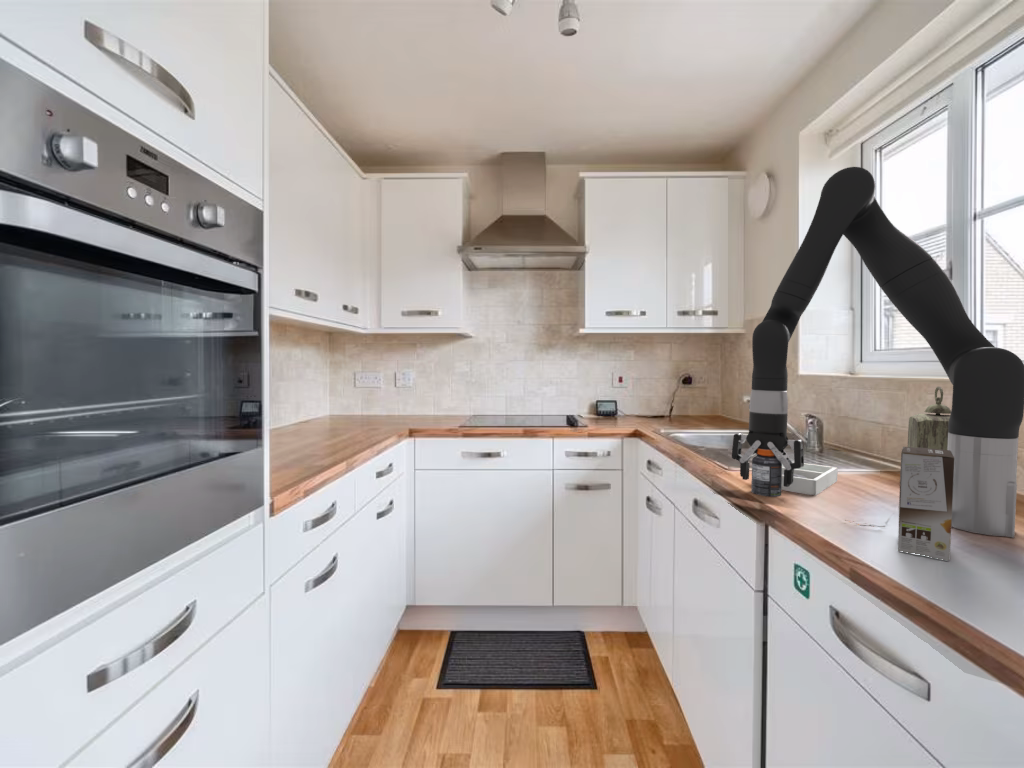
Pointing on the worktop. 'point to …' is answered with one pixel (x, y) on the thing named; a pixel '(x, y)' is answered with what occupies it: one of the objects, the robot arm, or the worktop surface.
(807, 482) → the tray
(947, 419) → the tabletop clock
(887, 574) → the worktop surface
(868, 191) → the robot arm
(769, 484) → the pill bottle
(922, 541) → the coffee box
